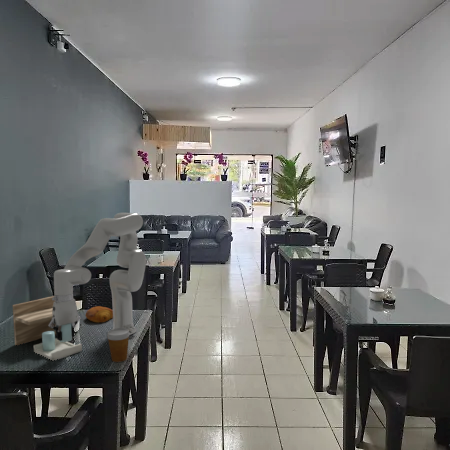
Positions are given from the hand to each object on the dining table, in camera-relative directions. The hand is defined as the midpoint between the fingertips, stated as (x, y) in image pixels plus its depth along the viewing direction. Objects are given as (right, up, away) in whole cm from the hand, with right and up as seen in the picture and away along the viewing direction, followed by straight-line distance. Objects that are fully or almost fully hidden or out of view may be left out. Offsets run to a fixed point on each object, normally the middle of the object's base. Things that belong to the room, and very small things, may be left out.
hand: (65, 337), depth 189 cm
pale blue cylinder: (0, -1, 0) cm, 1 cm away
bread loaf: (+1, -3, +48) cm, 48 cm away
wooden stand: (-16, -6, +14) cm, 22 cm away
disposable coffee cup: (+26, -7, -8) cm, 28 cm away
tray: (-4, -7, +2) cm, 8 cm away
